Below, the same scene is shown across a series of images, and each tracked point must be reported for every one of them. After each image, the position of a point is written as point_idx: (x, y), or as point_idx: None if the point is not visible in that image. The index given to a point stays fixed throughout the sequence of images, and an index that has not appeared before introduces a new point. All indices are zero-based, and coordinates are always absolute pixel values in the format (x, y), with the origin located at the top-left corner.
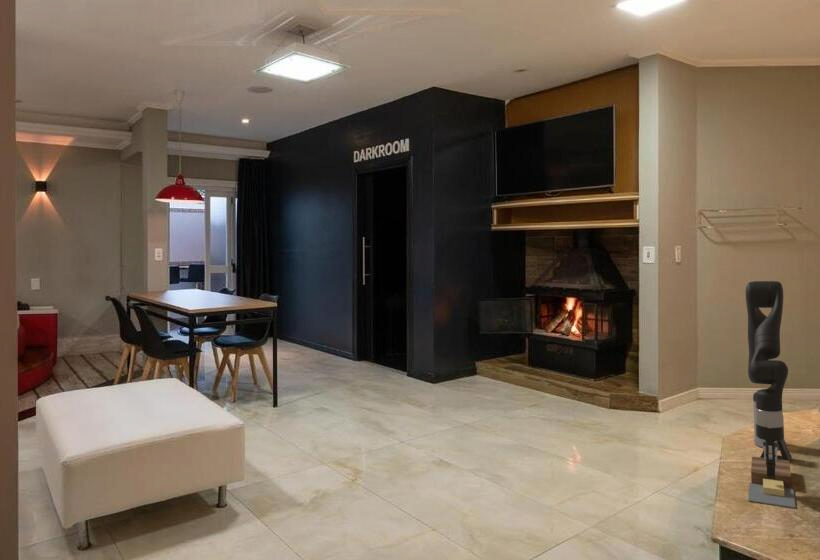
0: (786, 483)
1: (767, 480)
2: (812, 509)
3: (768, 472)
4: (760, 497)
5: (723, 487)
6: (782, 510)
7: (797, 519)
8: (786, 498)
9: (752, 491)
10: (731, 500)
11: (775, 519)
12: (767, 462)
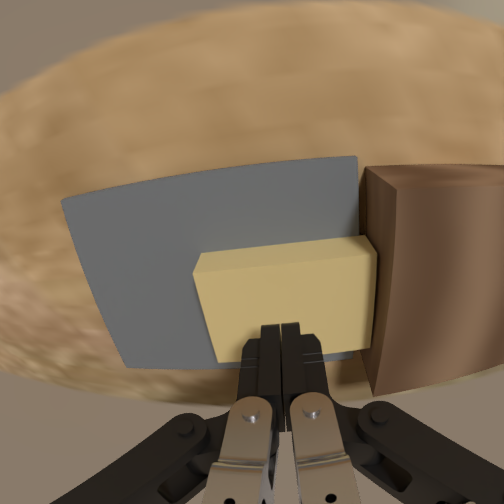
0: (367, 350)
1: (345, 282)
2: (164, 400)
3: (241, 365)
4: (132, 245)
5: (198, 18)
6: (78, 326)
7: (52, 358)
8: (201, 345)
9: (198, 193)
10: (34, 125)
11: (4, 304)
12: (133, 457)
